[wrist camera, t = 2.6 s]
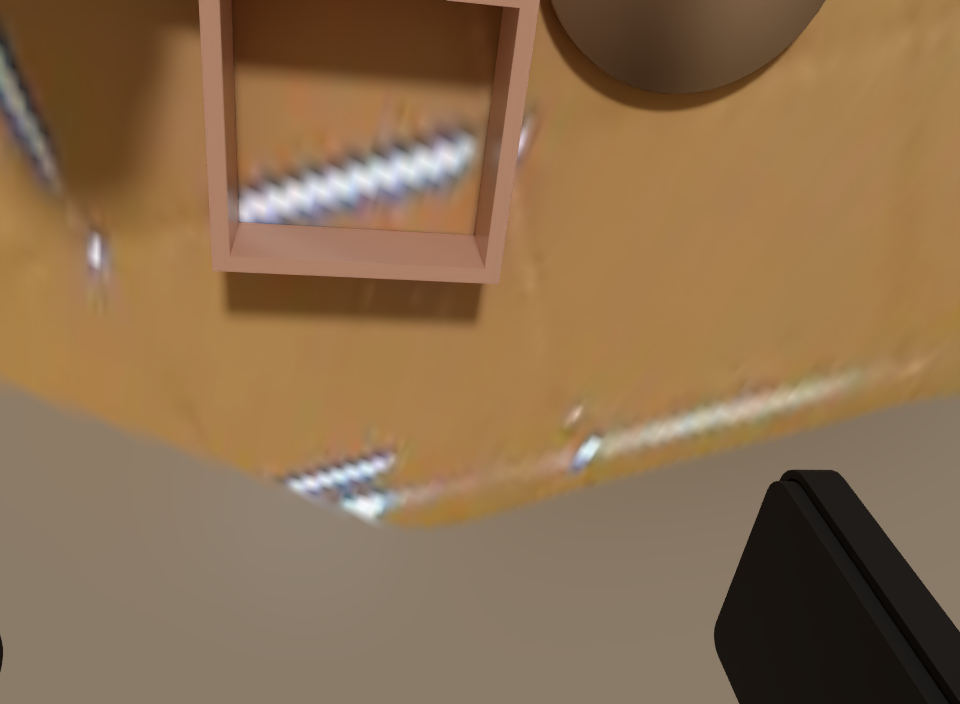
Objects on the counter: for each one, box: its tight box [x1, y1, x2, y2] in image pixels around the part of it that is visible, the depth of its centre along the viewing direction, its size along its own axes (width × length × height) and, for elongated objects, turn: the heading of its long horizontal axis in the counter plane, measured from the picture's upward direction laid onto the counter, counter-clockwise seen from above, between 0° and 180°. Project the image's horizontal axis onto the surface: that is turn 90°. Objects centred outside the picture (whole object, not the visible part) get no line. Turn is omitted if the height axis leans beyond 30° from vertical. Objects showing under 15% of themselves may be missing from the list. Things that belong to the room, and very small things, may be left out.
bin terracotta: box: [199, 0, 540, 284], centre depth 24 cm, size 9×9×2 cm
